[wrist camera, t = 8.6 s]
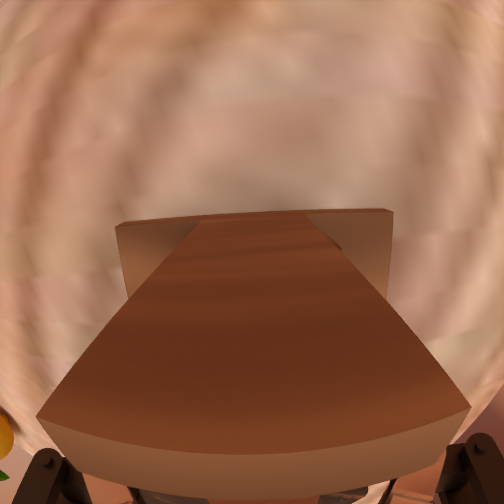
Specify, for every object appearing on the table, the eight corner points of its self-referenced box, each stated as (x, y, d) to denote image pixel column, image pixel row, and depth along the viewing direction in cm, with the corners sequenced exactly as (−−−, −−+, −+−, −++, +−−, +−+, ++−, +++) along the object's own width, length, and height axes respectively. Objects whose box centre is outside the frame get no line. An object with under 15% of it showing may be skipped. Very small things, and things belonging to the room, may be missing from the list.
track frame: (124, 222, 12) (-81, 349, 2) (384, 208, 12) (600, 320, 2) (173, 418, 16) (135, 561, 6) (354, 411, 16) (399, 553, 5)
